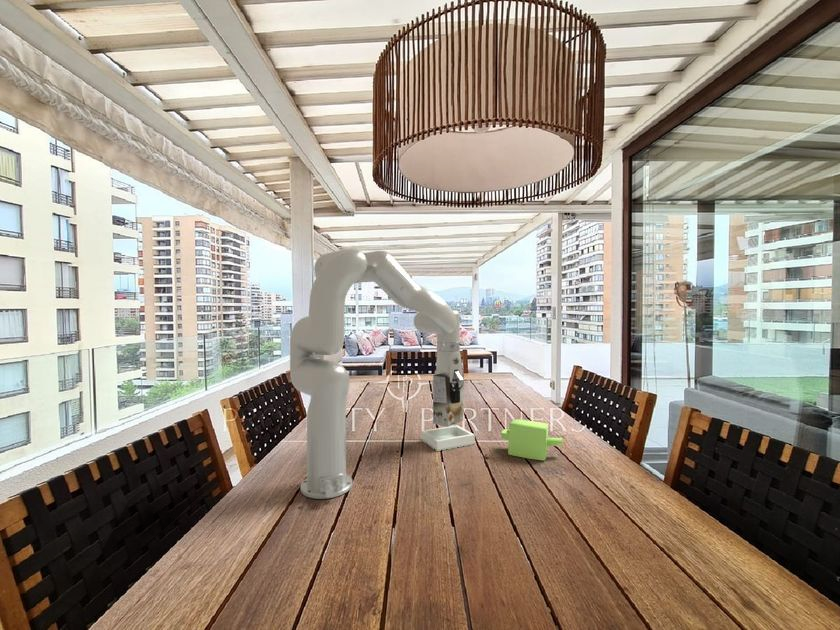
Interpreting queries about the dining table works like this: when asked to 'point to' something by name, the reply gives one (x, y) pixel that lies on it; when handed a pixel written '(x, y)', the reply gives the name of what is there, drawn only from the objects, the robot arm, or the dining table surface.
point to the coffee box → (446, 402)
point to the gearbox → (529, 439)
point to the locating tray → (448, 437)
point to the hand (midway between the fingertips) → (448, 399)
